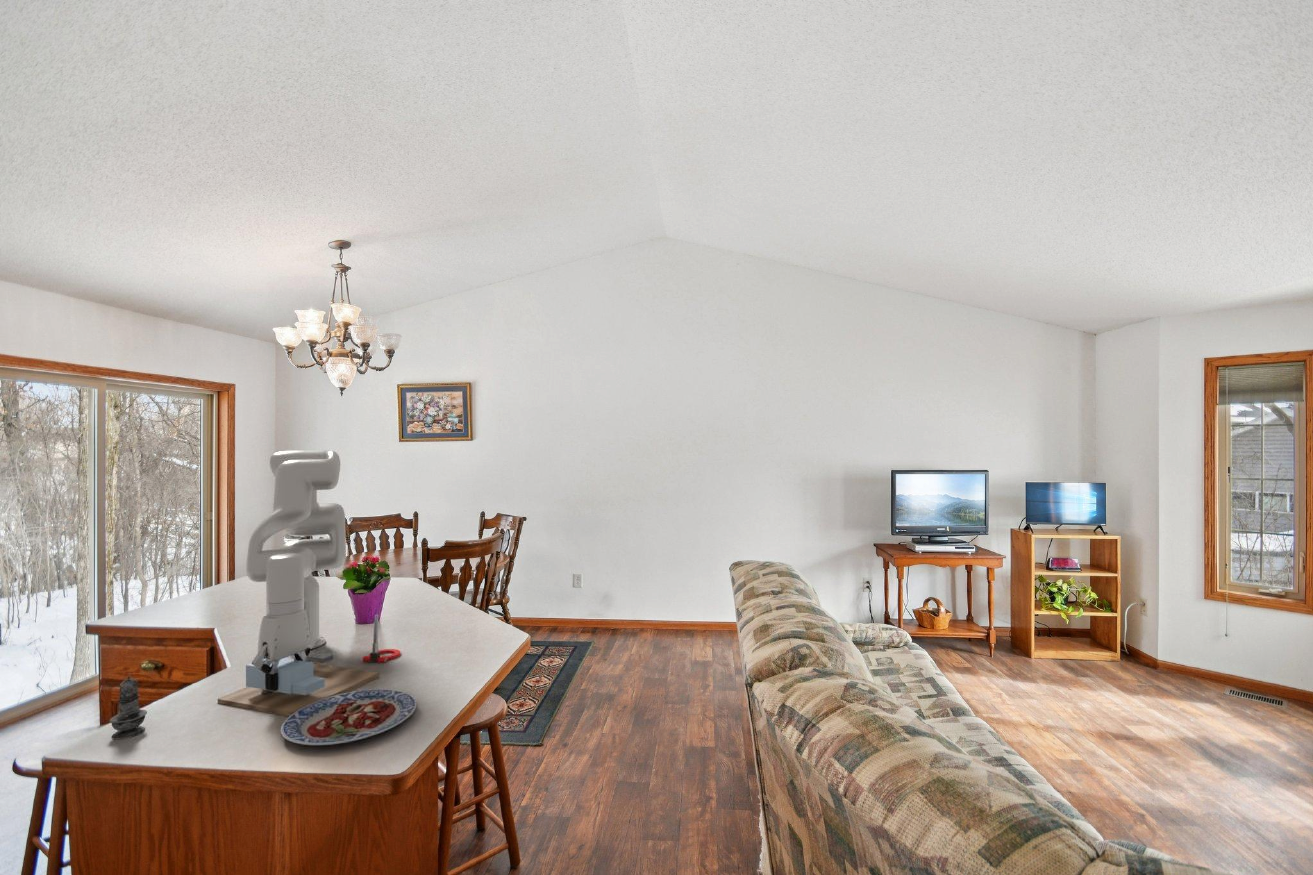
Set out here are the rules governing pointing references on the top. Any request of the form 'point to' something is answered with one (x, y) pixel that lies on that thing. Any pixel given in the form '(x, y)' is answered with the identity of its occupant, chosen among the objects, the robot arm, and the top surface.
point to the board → (288, 704)
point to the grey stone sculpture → (128, 711)
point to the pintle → (265, 692)
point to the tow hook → (376, 653)
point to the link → (287, 677)
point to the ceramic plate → (348, 717)
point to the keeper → (319, 657)
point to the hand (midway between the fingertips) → (285, 683)
